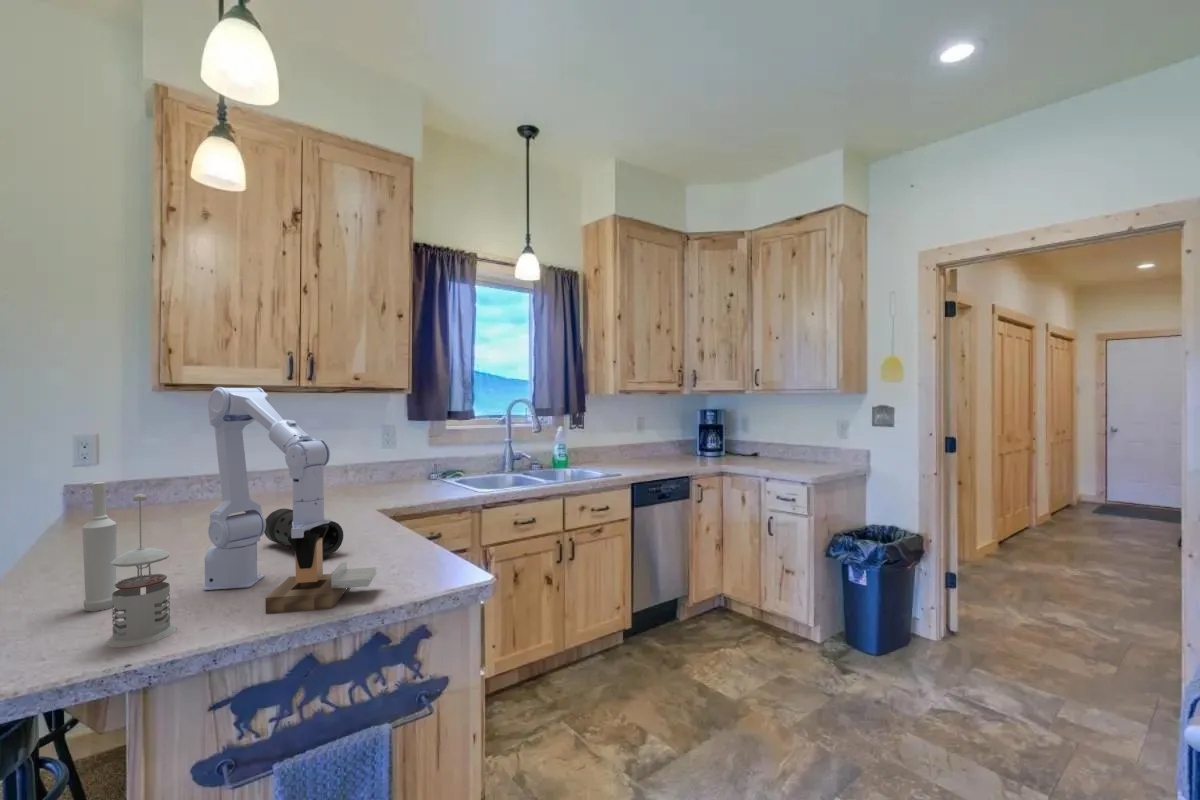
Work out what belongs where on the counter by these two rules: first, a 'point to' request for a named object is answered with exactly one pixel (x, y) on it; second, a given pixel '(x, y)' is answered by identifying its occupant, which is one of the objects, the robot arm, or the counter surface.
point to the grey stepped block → (351, 576)
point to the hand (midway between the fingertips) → (309, 564)
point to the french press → (140, 598)
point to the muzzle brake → (282, 525)
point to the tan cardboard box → (316, 569)
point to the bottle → (99, 554)
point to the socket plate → (303, 595)
